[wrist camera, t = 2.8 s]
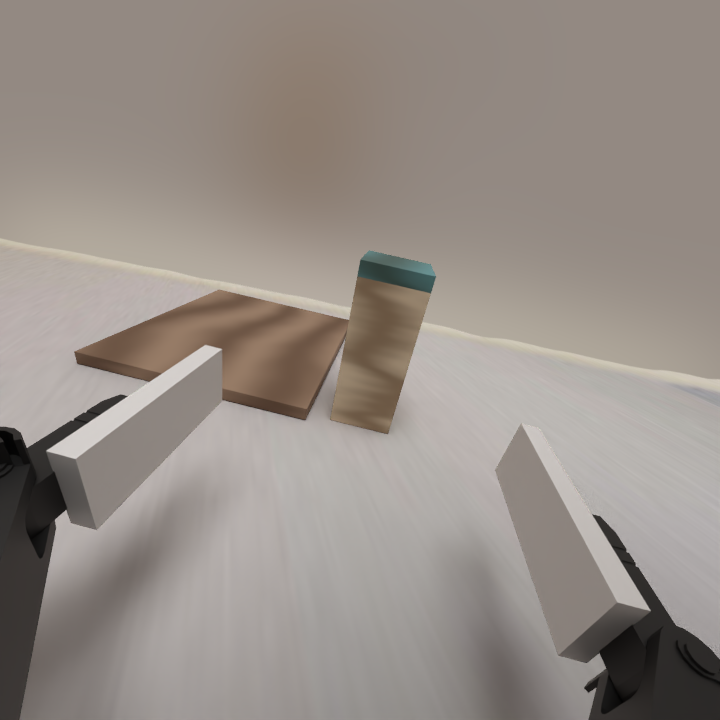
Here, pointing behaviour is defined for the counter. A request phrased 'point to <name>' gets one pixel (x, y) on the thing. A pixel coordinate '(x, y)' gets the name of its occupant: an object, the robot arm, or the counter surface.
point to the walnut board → (233, 349)
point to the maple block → (380, 338)
